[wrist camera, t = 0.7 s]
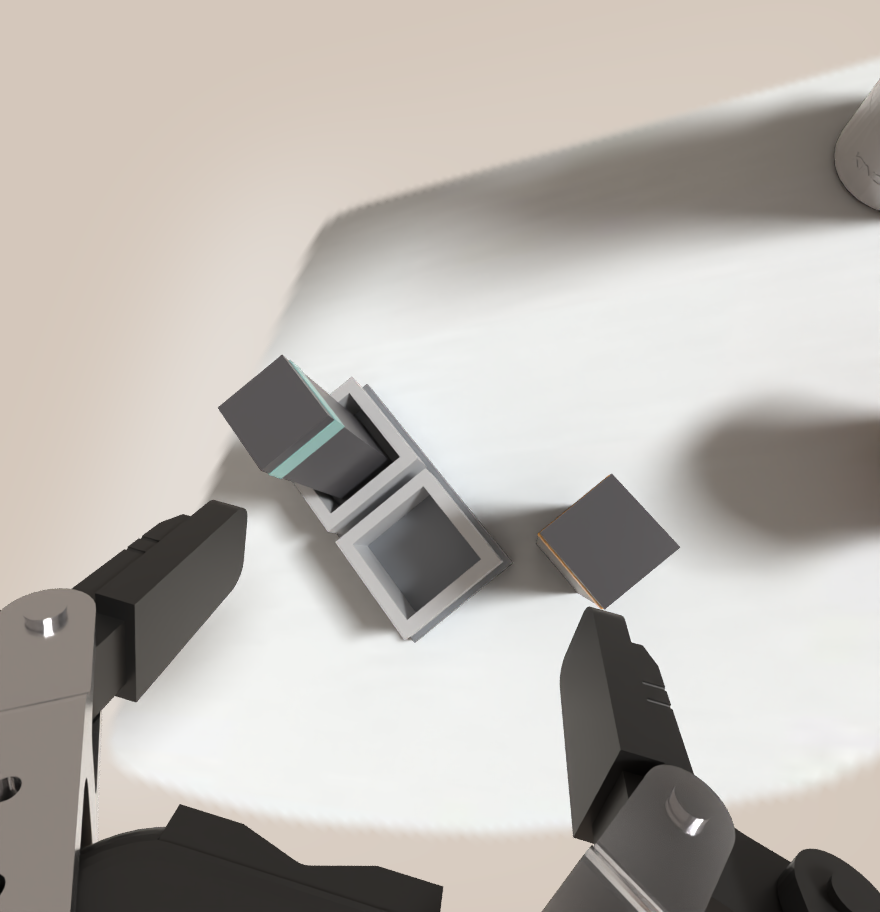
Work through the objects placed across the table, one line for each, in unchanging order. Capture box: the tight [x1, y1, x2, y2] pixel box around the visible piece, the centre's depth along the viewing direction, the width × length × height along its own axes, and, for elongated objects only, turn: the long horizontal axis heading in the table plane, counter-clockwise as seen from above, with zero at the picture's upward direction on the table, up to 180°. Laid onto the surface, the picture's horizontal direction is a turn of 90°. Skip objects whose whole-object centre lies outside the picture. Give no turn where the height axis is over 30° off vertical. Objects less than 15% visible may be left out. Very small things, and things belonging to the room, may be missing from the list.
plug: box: [536, 474, 680, 609], centre depth 27 cm, size 4×4×12 cm
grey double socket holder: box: [293, 377, 513, 643], centre depth 34 cm, size 8×16×4 cm, turn 38°
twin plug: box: [218, 355, 393, 500], centre depth 30 cm, size 4×4×12 cm
